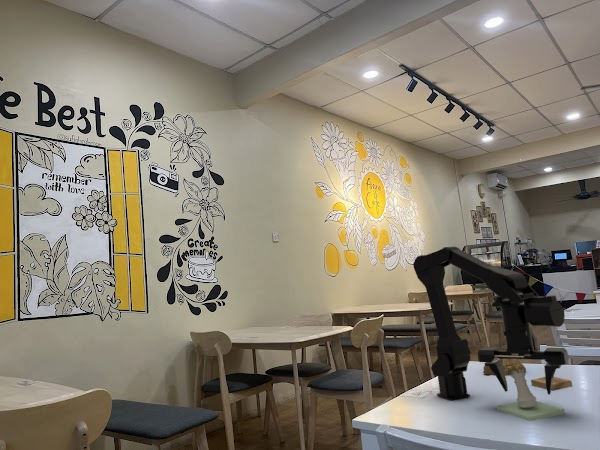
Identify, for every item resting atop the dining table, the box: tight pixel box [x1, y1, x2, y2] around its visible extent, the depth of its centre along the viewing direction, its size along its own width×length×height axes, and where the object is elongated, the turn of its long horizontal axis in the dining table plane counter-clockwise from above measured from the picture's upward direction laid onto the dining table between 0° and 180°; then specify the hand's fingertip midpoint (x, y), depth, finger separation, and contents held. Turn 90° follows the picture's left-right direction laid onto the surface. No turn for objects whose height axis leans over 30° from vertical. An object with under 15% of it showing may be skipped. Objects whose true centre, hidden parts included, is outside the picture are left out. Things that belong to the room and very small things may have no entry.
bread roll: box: [483, 359, 527, 377], centre depth 143 cm, size 13×12×5 cm
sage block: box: [496, 400, 566, 422], centre depth 103 cm, size 10×10×2 cm
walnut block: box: [530, 376, 573, 392], centre depth 122 cm, size 7×7×2 cm
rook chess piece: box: [510, 370, 539, 408], centre depth 104 cm, size 4×4×8 cm
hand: (527, 392), depth 103 cm, fingers open, 9 cm apart
